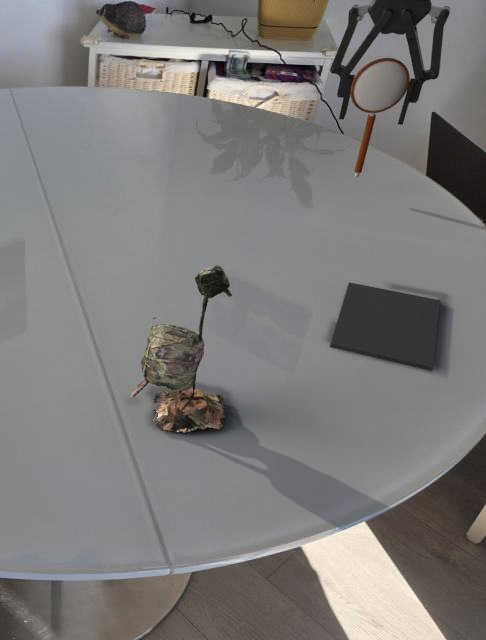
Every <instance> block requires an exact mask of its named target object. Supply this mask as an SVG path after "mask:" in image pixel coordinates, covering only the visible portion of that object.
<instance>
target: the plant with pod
mask: <svg viewBox="0 0 486 640" xmlns="http://www.w3.org/2000/svg"><path fill="white" fill-rule="evenodd" d="M194 282H195V284H196V287H197V290H198V292H199V294H200V295H201V296H202V297H203V300H202V303H201V304H202V305H201V306H202V307H201V312H200V313H201V316H200V317H199V325H198V333H196V332H195V331H193V330H191V329H189V328H187V327H184V326H180V325H176V324H175V325H174V324H173V325H172V324H166V323H154V324H152V325H151V327H150V330H149V332H148V335H147V339H146V341H147V345H146V347H145V349H144V351H143V352H142V357H141V360H140V366H141V370H142V374H143V375H142V376H143V377H144V379H143V380H142V381H141V382H140V383H139V384H138V385H137V387H136V389H135V390H134V391H133V392H132V393H131V395H130V398H131V399H133V398H135V397H136V396H137V395H138V394H139V393H140V392H141V391H143V390H144V389H145V387H147V386H148V385H149V384H151V385H154V386H157V387H166V388H167V389H169V390H170V391H169V390H166V391H164V390H163V391H162V392H160V393H155V396H154V398H153V401H152V402H153V403H159V404H160V402H163V403H161V404H160V405H161V406H160V407H159V409H158V410H157V411H156V412H157V413H158V417H157V420H156V421H155V422H153V425H154V426H155V427H156V428H158V429H160V430H161V431H169V432H170V431H171V432H177V433H179V432H182V433H188V432H191V431H196V430H197V429H199V430H202V431H203V430H205V429H207V428H210V429H211V428H212V429H216V430H220V429H221V428H222V427H223V426H224V424H223V423H225V419H224V418H225V417H227V416H228V414H227V413H226V412H225V411H224V409H225V405H224V404H225V401H226V399H225V398H224V397H223V396H222V395H220V393H218V394H217V393H210V394H209V393H205V392H204V391H203V390H202V389H197V388H196V380H197V372H198V368H199V366H200V363H201V361H202V360H203V357H204V355H205V352H204V350H205V345H206V344H205V341H204V338H203V330H204V329H203V327H204V322H205V313H206V311H207V307H208V303H209V299H213V298H215V297H217V296H218V295H221V294H222V293H224V294H226V295H227V296H228V298H229V297H232V296H233V294H232V292H231V290H230V286H231V283H230V280H229V278H228V276H227V274H226V273H225V270H224V269H223V268H222V266H221V265H218V264H216V265H213V266H211V267H206V268H204V269H203V270H201V271H200V272H198V273H197V274H196V275H195V276H194ZM156 319H157V317H155V316H154V317H153V318H152V320H156Z"/></svg>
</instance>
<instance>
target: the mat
mask: <svg viewBox="0 0 486 640" xmlns="http://www.w3.org/2000/svg"><path fill="white" fill-rule="evenodd" d="M440 307H441V300H440V299H436V298H430V297H426V296H420V295H417V294H411V293H405V292H400V291H396V290H391V289H386V288H381V287H375V286H371V285H364V284H360V283H355V282H348V284H347V287H346V291H345V294H344V298H343V301H342V304H341V308H340V309H339V310H340V311H339V314H338V317H337V321H336V323H335V328H334V330H333V334H332V337H331V340H330V343H329V347H330V348H333V349H337V350H342V351H346V352H350V353H354V354H358V355H362V356H367V357H371V358H375V359H380V360H384V361H388V362H391V363H396V364H400V365H404V366H409V367H414V368H417V369H422V370H426V371H429V372H432V371H433V369H434V361H435V355H436V354H435V352H436V345H437V344H436V343H437V335H438V325H439V319H440Z"/></svg>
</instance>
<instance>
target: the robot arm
mask: <svg viewBox="0 0 486 640" xmlns="http://www.w3.org/2000/svg"><path fill="white" fill-rule="evenodd" d="M450 13H451V7H450V6H448V5H444V6H443V7H442V6H436V5H432V1H431V0H371V1H370V3H369V4H363V5H359V4H353V5H352V6H351V8H350V9H349V11H348V16H347V17H348V19H347V21H348V22H347V23H348V24H347V25H346V29H345V31H344V33H343V36H342V38H341V41H340V43H339V46H338V49H337V51H336V53H335V56H334V59H333V61H332V64H331V66H330V69H329V72H330V73H331V74H335V75H336V76H338V77H339V83H338V88H337V93H336V95H337V98H342V103H341V107H340V111H339V116H338V120H342V121H343V120H344V119H345V117H346V116H347V111H348V107H349V103H350V99H351V94H350V90H351V85H352V82H353V80H354V78H355V76H356V74H351V73H352V72H353V71H354V70H355V68H356V67H357V65H358V63H359V62H360V61H361V59H362V58H363V57H364V55H365V54H366V52H367V51H368V50H369V48H370V47H371V45H372V44H373V42H374V41H375V40H376V39H377V37H378V36H379V35H380V34H381V35H389V34H395V35H397V36H398V35H399V36H400V35H401V36H402V35H404V34H405V39H406V42H407V46H408V51H409V56H410V61H411V67H412V71H413V75H414V78H412V77H411V78H410V81H409V85H408V89H407V91H406V93H405V95H404V100H403V104H402V106H401V111H400V115H399V118H398V120H397V121H398V122H397V125H398V126H399V125H401V126H403V125H404V123H405V118H406V116H407V111H408V108H409V104H410V103H411V104H417V102H418V101H419V99H420V95H421V93H422V88H423V85H424V83H425V82H427V81H430V80H436V79H438V78H439V76H440V71H441V61H442V51H443V41H444V40H443V39H444V30H445V25H446V23H447V21H448V19H449V17H450ZM366 14H369V17H370V19H371V21H372V23H373V26H372V28H371V29H370V31H368V32H369V33H367V35H366V36H365V38H364V39H363V41H362V42H361V43H360V44H359V46H358V48H357V49H356V51H355V52H354V53H353V55H352V56H351V58H350V59H349V61H348V62H347V64H346V65H344V64H342V63H343V60H344V59H345V58H344V57H345V56H346V53H347V51H348V50H349V49H348V48H349V46H350V43H351V41H352V39H353V36H354V34H355V32H356V29H357V28H358V24H359V22H361V21H362V20H364V17H365V15H366ZM428 15H430V17H431V18H430V22H431V23H432V24H433V25H434V27H433V32H432V34H433V35H432V43H431V44H432V46H431V56H430V67H429V69H425V65H424V59H423V55H422V54H423V53H422V49H421V43H420V40H419V34H418V27H417V25H419V23H420V22H422V21H423V20H424V18H426V17H427V16H428Z"/></svg>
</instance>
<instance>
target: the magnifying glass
mask: <svg viewBox="0 0 486 640" xmlns="http://www.w3.org/2000/svg"><path fill="white" fill-rule="evenodd" d="M356 73H357V74H355V77H354V80H353V82H352V85H351V90H350V99H351V101H352V104H353V105H354V106H355V107H356V109H358V110H360V111H361V112H364V113H367V114H368V115H367V119H366V123H365V127H364V130H363V135H362V138H361V141H360V147H359V150H358V155H357V159H356V162H355V167H354V171H353V172H354V177H355V178H358V177H360V174H361V173H362V172H363V168H364V164H365V162H366V161H365V160H366V157H367V154H368V149H369V145H370V140H371V137H372V134H373V129H374V125H375V121H376V117H377V115H376V114H378V113H382V112H385V111H387V110H389V109H391V108H393V107H394V106H396V105H397V104H399V102H401V100H402V99H403V97H405V96H406V93H407V89H408V85H409V82H410V79H411V78H410V72H409V70H408V67H407V66H406V65H405V63H403V62H402V61H401V60H399V59H396V58H394V57H393V58H392V57H381V58H378V59H374V60H373V61H370V62H368V63H367V64H366V65H364V66H363V67H362V68H361V69H360V70H359V71H357V72H356Z"/></svg>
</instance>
